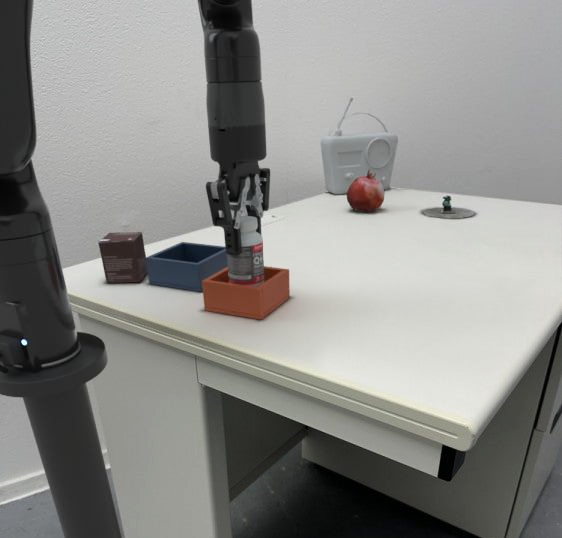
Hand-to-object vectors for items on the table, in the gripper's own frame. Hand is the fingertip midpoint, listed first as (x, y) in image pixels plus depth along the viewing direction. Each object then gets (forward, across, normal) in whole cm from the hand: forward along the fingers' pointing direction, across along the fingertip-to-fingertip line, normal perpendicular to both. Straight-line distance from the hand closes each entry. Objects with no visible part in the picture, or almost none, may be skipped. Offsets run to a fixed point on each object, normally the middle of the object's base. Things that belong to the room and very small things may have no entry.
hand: (244, 248), depth 79 cm
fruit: (+9, -68, -4) cm, 69 cm away
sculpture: (+9, -72, +16) cm, 74 cm away
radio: (+9, -93, -14) cm, 94 cm away
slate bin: (+9, -7, -15) cm, 19 cm away
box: (+9, -3, -26) cm, 28 cm away
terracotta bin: (+9, 0, 0) cm, 9 cm away
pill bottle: (+6, 0, 0) cm, 6 cm away
